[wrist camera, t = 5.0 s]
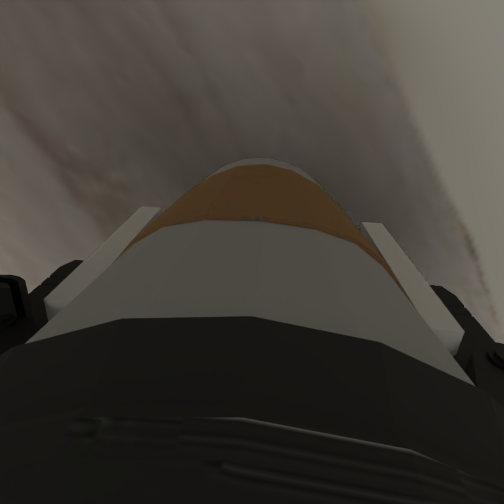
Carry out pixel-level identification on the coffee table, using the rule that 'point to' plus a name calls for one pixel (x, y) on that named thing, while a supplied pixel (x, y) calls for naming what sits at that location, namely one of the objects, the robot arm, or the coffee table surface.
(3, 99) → the coffee table surface
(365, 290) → the coffee cup
